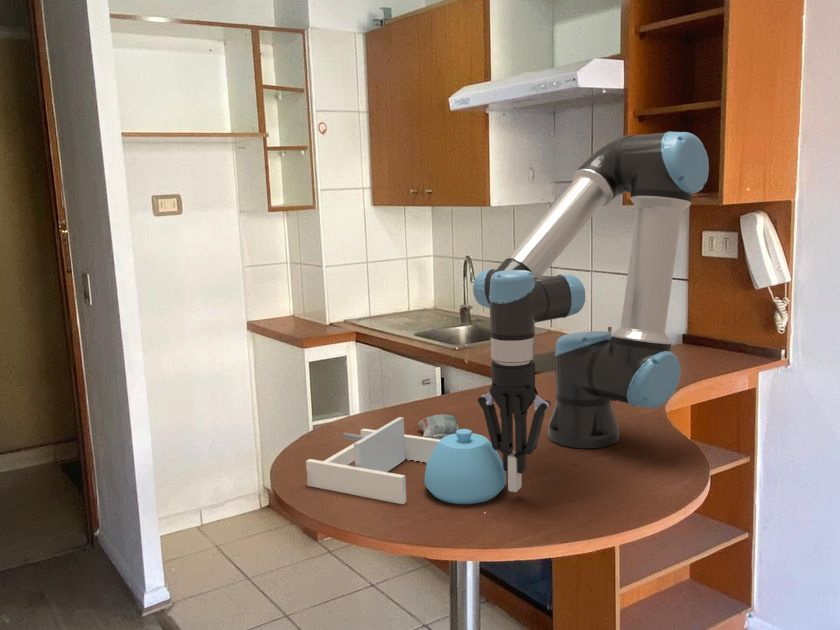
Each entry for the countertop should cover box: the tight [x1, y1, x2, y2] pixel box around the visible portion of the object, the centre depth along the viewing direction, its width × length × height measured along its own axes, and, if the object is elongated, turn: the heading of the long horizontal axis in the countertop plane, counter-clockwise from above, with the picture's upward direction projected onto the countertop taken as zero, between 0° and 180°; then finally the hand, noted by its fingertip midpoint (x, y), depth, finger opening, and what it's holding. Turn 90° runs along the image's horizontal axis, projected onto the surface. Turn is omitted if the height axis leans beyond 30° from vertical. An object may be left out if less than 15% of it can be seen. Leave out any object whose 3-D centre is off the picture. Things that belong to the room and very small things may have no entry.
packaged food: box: [417, 413, 460, 440], centre depth 171 cm, size 9×12×5 cm
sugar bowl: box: [424, 428, 507, 505], centre depth 142 cm, size 15×15×12 cm
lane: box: [305, 428, 440, 505], centre depth 151 cm, size 21×20×5 cm
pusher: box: [341, 416, 406, 473], centre depth 152 cm, size 9×17×9 cm, turn 152°
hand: (514, 488), depth 138 cm, fingers closed
